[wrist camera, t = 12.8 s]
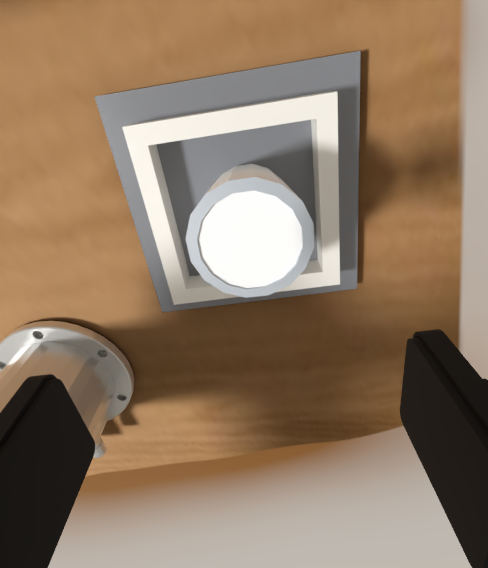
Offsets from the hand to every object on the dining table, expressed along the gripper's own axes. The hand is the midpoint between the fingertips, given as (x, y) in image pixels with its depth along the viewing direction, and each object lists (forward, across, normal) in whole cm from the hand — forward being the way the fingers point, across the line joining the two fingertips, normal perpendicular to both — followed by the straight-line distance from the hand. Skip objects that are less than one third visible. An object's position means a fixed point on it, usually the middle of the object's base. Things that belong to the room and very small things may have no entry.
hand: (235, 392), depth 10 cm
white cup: (+17, -1, 0) cm, 17 cm away
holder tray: (+18, 0, 0) cm, 18 cm away
